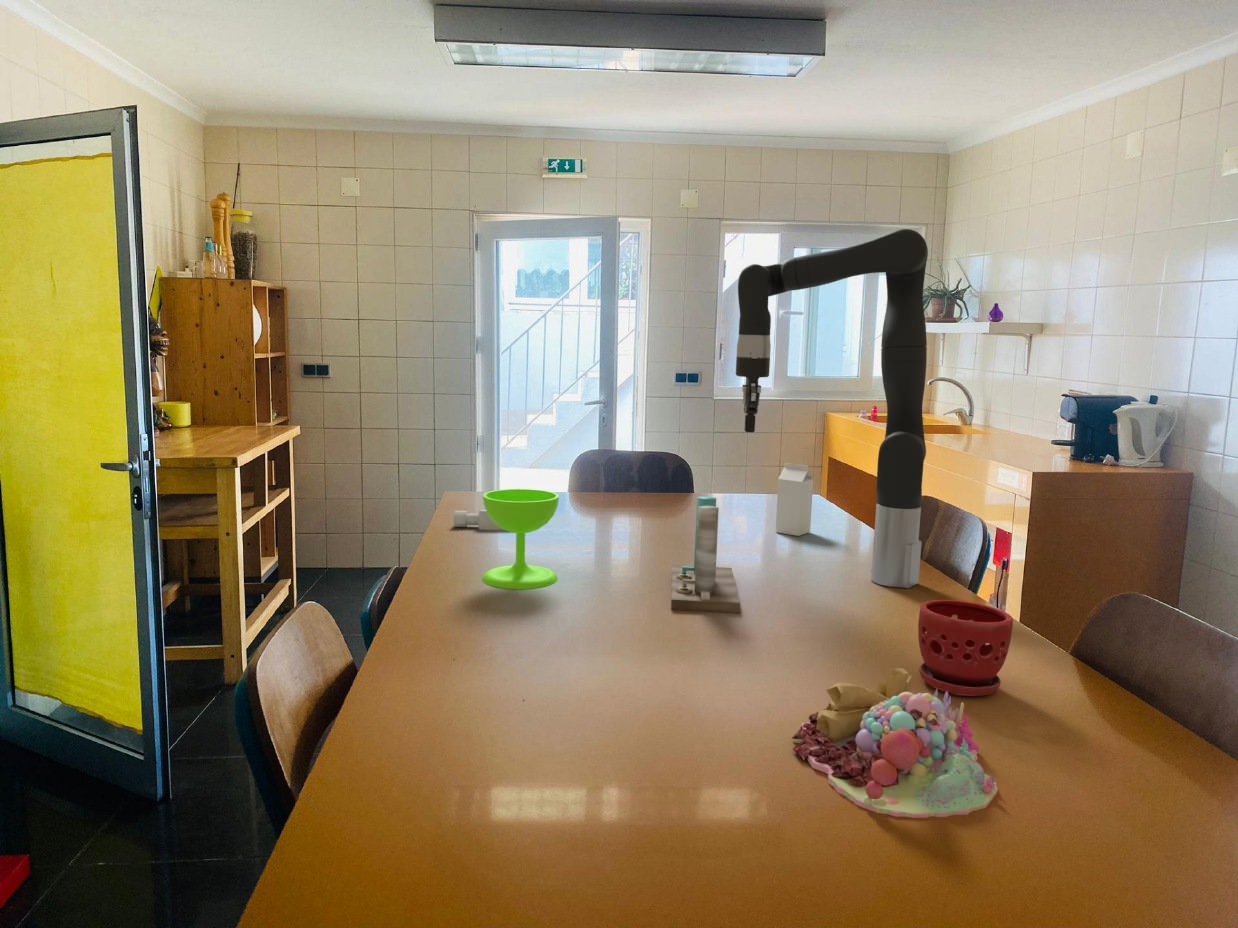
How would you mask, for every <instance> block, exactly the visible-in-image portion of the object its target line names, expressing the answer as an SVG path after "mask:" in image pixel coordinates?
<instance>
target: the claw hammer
mask: <svg viewBox="0 0 1238 928" xmlns="http://www.w3.org/2000/svg"><path fill="white" fill-rule="evenodd" d="M453 526H454V528H467V527H468V526H478V530H481V531H483V530H486V531H505V530H504V529H502V528H501V527H499V526H498V525H497V524H495V523H494V522H493V520H492V519H491V518H490V517H489V515H488V513H487V511H486V509H479V511H478V513H471V512H470V513H468V511H467V510H454V514H453Z"/></svg>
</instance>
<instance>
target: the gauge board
mask: <svg viewBox="0 0 1238 928" xmlns="http://www.w3.org/2000/svg"><path fill="white" fill-rule="evenodd" d="M719 509H720V508H719V507H717V506H716V507H715V506H699V507H698V520H697V544H696V568H695V574H694V571H686V574H685V575H684V574H682V568H683V566H684V565H679V564H678V565H677V564H675V565H674V564H672V566H671V567H672V568H671V599H670V601H671V602H670V603H671V604H670V605H671V606H670V610H673V611H689V612H691V611H693V612H694V611H695V612H711V613H712V612H713V613H715V612H716V613H729V614H730V613H732V614H734V613H735V614H740V611H741V610H740V609H741V607H740V605H741V601H740V597H739V593H738V590H737V585H736V582H735V578H734V577H735V576H734V571H733V569H732V567H725V566H724V567H723V566H722V567H719V566H717V557H718V556H717V553H718V550H717V549H718V532H719V531H718V530H719V529H718V527H719ZM687 566H688V567H694V565H687Z"/></svg>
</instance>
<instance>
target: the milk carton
mask: <svg viewBox="0 0 1238 928" xmlns="http://www.w3.org/2000/svg"><path fill="white" fill-rule="evenodd" d="M809 469H810V466H809V465H807V464H806V465H804V464H796V463H788V462H785V463H784V467H783V469H782V471H781V472H780V474H779V476H778V479H777V492H776V493H777V494H776V495H777V497H776V515H775V533H777V534H778V533H779V534H785V535H789V536H797V537H800V536H803V535H805V534H808V533H811V525H812V524H811V523H812V521H811V519H812V509H813V508H812V507H813V493H814V491H813V489H814V488H813V487H814V478H813V476H812V474H811V471H810V470H809Z"/></svg>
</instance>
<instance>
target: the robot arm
mask: <svg viewBox="0 0 1238 928" xmlns="http://www.w3.org/2000/svg"><path fill="white" fill-rule="evenodd" d="M928 257H929V250H928V245H927V242H926V240H925V238H924V237H923V235H921V234H920V233H919V232H917V231H915V230H914V229H910V228H901V229H897V230H895V231H893V232H891V233H889V234H886V235H883V236H880V237H878V238H876V239H875V238H874V239H873V240H870V241H866V242H863V243H860V244H856V245H852V246H848V247H844V248H839V249H831V250H827V251H822V252H817V253H811V254H806V255H801V256H800V255H799V256H797V257H796V256H795V257H792V258H788V259H786V260H784V261H783V262H781V263H779V262H778V263H775V264H774V263H773V264H768V265H760V264H759V263H758V264H757V263H753V264H749V265H747V266H746V267H744V268H743V269H742V270H741V271H740V274H739V277H738V281H737V295H738V309H739V320H738V321H739V322H738V323H739V324H738V339H737V344H736V359H735V360H736V361H735V362H736V363H735V375H736V377H743V378H745V384H742V387H741V388H742V389H741V391H742V393H743V394H742V404H743V414H744V432H746V433H754V432H756V431H755V430H756V416H757V414H758V412H759V411H758V407H759V406H760V396H761V393H762V386H761V385H760V384H759V379H760V378H768V377H770V366H771V327H772V326H771V325H772V324H771V323H772V320H771V319H772V316H771V312H770V311H769V297H773V296H776V295H780V294H783V293H786V292H790V291H791V292H792V291H798V290H799V291H800V290H806V289H810V288H814V287H815V288H816V287H821V286H825V285H828V284H832V283H835V282H838V281H842V280H845V279H848V278H852V277H856V276H857V277H858V276H861V275H867V274H878V273H879V274H880V273H885V279H886V295H887V299H886V308H885V314H884V321H883V326H882V334H881V343H880V344H881V346H880V347H881V348H880V351H881V352H880V355H881V357H880V358H881V359H880V360H881V362H880V364H881V365H880V366H881V367H880V368H881V375H882V384H883V390H884V395H885V401H886V425H885V435H884V439H883V441H882V442H881V444H880V447H879V450H878V454H877V455H878V457H877V471H876V485H875V486H876V488H875V489H876V506H875V519H874V521H875V522H874V532H873V547H872V560H871V562H872V563H871V576H870V577H871V578H870V580H871V581H872V582H873V583H876V584H877V585H881V586H886V587H891V588H904V589H910V588H912V587H913V586H916V585H918V584H919V580H920V579H919V577H920V568H921V567H920V566H921V565H920V564H921V556H922V555H921V553H922V550H921V549H922V541H921V540H920V539H919V537H920V525H921V523H920V522H921V511H922V501H923V499H922V498H923V492H922V489H923V475H924V461H925V459H926V455H927V446H926V440H925V433H924V432H925V431H924V418H923V417H924V416H923V403H924V401H923V400H924V394H925V387H926V378H927V376H926V375H927V363H928V362H927V355H928V353H927V352H928V349H927V346H928V342H927V327H926V324H927V323H926V316H925V315H926V314H925V308H924V286H925V277H926V275H925V274H926V267H927V263H928V262H927V261H928Z"/></svg>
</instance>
